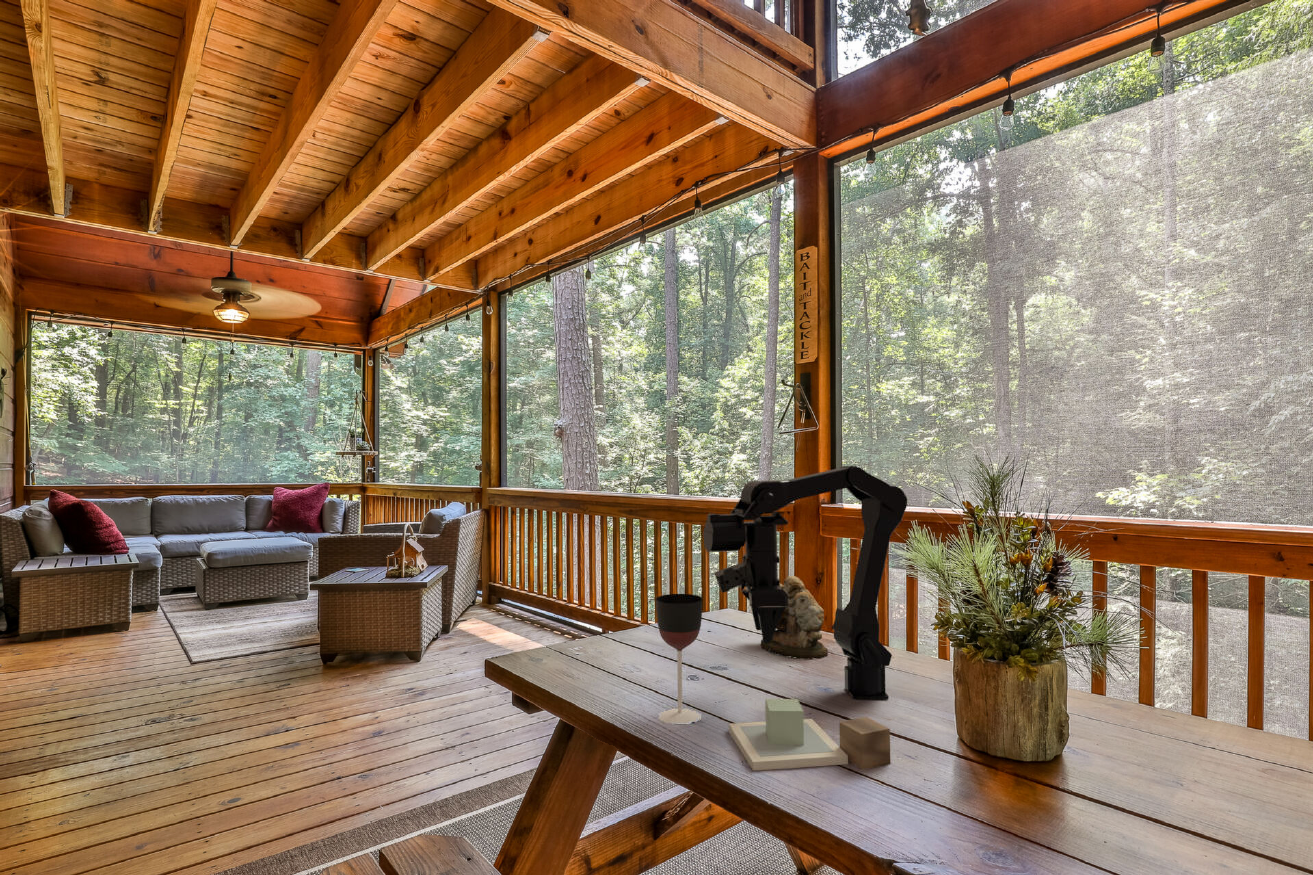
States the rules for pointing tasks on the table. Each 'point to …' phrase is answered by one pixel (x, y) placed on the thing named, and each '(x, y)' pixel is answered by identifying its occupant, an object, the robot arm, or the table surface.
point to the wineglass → (679, 639)
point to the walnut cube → (865, 742)
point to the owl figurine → (798, 624)
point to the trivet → (786, 748)
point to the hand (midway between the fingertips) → (762, 636)
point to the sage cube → (784, 722)
